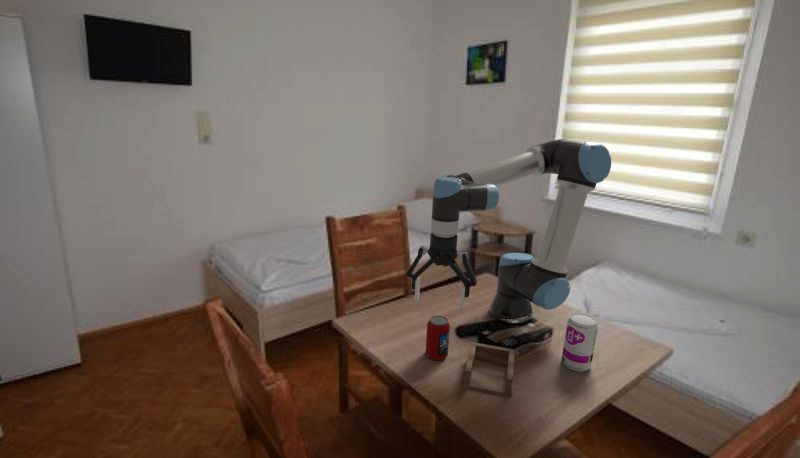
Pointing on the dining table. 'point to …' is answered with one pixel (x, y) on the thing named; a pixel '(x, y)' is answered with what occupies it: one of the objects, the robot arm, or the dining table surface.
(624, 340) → the dining table surface
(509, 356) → the walnut U-rest
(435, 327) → the beverage can
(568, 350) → the supplement can
